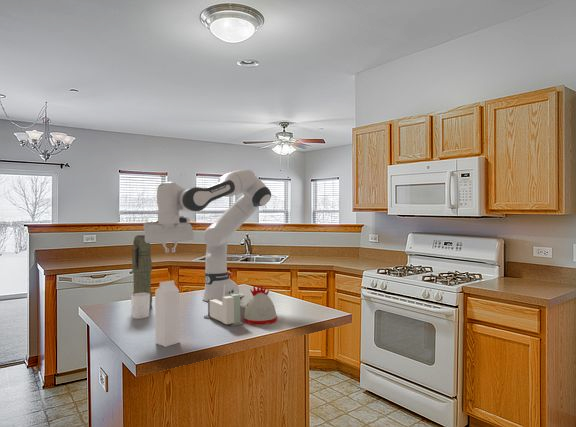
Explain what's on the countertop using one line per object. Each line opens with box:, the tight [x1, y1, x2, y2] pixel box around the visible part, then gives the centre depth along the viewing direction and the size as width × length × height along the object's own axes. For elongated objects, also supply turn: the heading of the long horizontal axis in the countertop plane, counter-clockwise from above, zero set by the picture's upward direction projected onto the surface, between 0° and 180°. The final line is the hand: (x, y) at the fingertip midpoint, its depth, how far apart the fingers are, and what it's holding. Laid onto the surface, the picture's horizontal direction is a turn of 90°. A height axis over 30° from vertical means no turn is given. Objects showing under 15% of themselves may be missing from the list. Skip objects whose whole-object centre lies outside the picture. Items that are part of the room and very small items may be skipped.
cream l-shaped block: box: [210, 296, 234, 325], centre depth 171 cm, size 16×4×10 cm, turn 37°
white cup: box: [130, 293, 151, 320], centre depth 181 cm, size 8×8×10 cm
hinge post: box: [203, 298, 215, 320], centre depth 179 cm, size 6×6×8 cm
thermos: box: [131, 234, 153, 309], centre depth 198 cm, size 9×12×35 cm
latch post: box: [228, 294, 245, 327], centre depth 168 cm, size 5×5×12 cm
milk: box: [154, 279, 181, 348], centre depth 145 cm, size 6×6×22 cm
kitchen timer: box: [243, 284, 278, 326], centre depth 174 cm, size 14×14×15 cm
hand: (170, 252), depth 174 cm, fingers closed
